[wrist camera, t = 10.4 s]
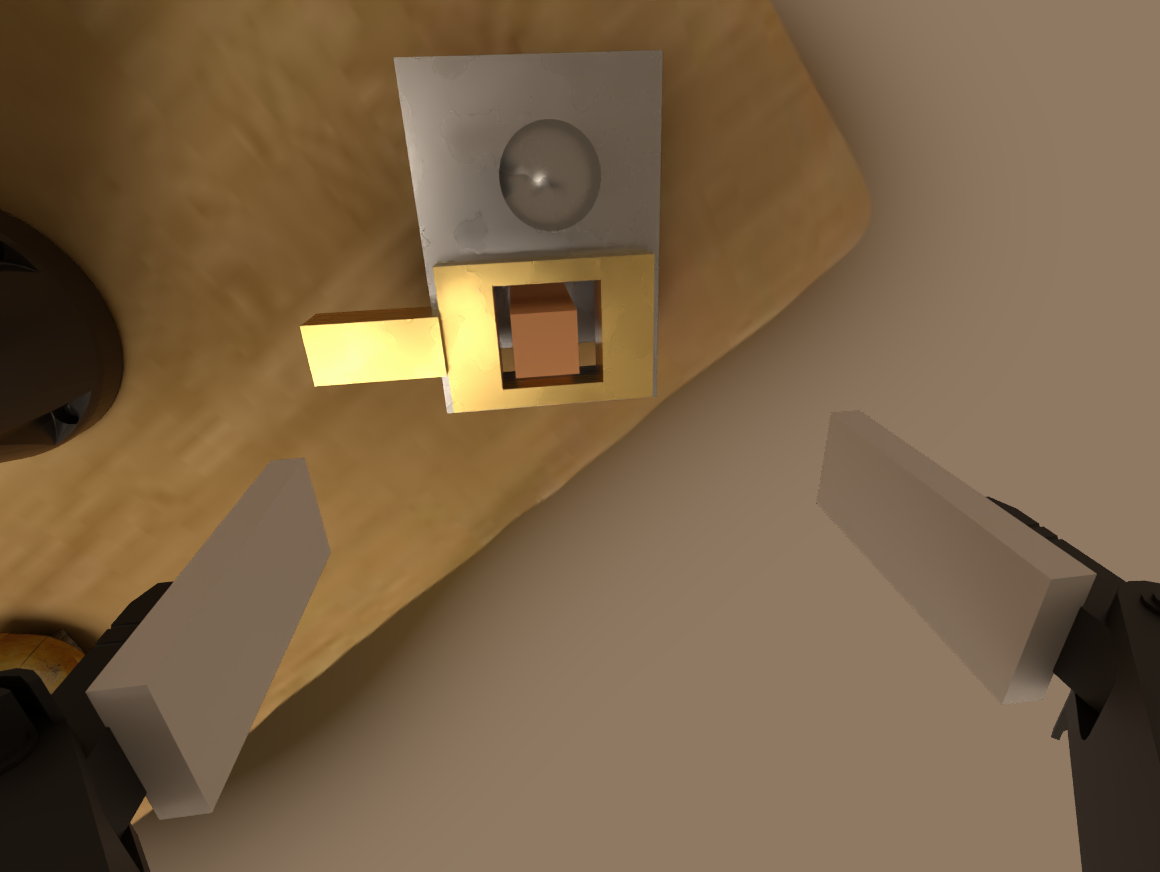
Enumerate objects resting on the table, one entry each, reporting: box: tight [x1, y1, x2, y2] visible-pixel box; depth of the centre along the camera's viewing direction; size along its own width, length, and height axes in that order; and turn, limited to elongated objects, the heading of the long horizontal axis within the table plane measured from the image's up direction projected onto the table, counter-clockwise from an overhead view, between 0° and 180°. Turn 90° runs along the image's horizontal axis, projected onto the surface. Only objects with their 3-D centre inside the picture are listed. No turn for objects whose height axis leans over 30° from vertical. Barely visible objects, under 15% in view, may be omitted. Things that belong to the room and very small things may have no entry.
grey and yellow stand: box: [300, 50, 663, 413], centre depth 27 cm, size 18×16×17 cm
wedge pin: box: [510, 282, 580, 378], centre depth 31 cm, size 3×3×10 cm
